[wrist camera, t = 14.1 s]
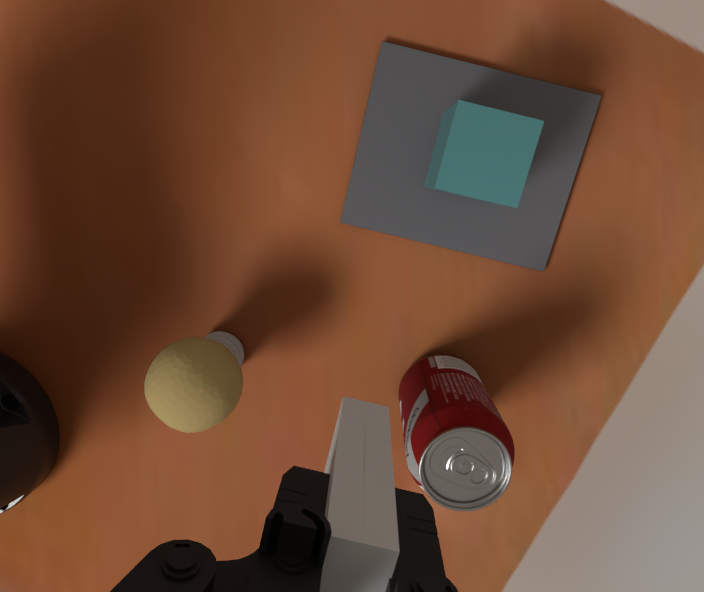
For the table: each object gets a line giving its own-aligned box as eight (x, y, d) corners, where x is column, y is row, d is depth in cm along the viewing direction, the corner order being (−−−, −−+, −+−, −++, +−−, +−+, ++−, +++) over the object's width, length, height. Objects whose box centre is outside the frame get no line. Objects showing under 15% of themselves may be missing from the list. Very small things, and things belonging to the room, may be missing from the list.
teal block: (423, 186, 37) (434, 187, 31) (443, 113, 36) (458, 99, 30) (492, 203, 38) (517, 208, 31) (513, 131, 36) (544, 120, 30)
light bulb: (169, 348, 42) (108, 398, 32) (222, 297, 41) (176, 333, 31) (224, 401, 43) (181, 466, 33) (278, 353, 42) (250, 405, 32)
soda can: (429, 335, 41) (453, 397, 29) (497, 380, 42) (546, 458, 30) (382, 399, 42) (386, 483, 31) (448, 442, 43) (476, 540, 31)
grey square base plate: (340, 221, 39) (334, 230, 32) (381, 43, 36) (384, 11, 30) (541, 270, 40) (577, 289, 33) (598, 96, 37) (650, 77, 30)
